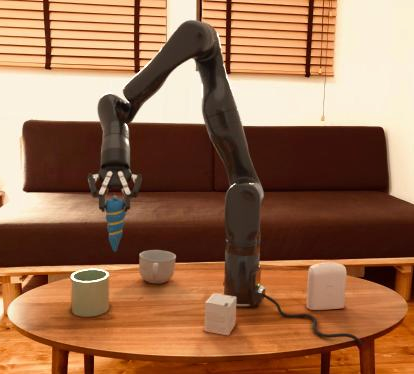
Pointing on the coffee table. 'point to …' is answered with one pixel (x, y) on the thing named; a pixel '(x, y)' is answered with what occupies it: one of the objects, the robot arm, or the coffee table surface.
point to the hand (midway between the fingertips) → (114, 209)
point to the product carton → (220, 314)
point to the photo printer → (326, 286)
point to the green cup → (89, 292)
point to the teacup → (156, 265)
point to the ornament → (115, 220)
